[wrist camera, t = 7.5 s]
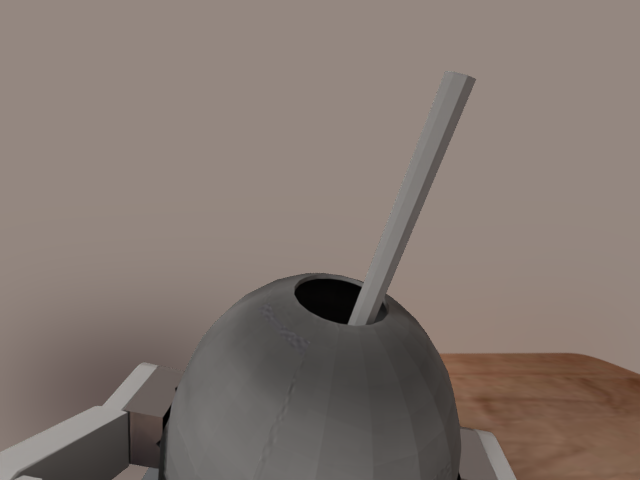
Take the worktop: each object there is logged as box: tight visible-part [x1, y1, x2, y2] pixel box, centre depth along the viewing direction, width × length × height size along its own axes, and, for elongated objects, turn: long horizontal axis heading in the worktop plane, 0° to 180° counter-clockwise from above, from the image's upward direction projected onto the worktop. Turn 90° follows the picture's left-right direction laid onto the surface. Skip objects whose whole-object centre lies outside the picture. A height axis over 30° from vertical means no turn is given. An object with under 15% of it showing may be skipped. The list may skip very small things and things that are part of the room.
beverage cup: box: [158, 71, 476, 480], centre depth 9 cm, size 7×7×20 cm
